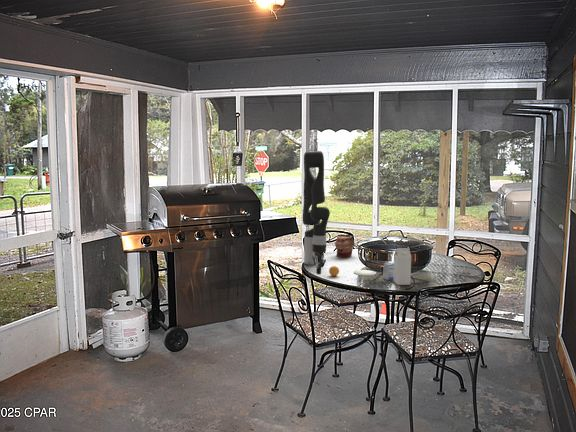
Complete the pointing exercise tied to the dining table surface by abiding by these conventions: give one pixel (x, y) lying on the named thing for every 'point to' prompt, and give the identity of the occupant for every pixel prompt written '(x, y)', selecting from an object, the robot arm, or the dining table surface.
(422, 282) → the dining table surface
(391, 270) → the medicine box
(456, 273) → the dining table surface
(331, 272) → the ball
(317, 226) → the robot arm
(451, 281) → the dining table surface
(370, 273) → the disc
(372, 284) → the dining table surface
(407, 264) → the milk carton
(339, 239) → the decorative planter
